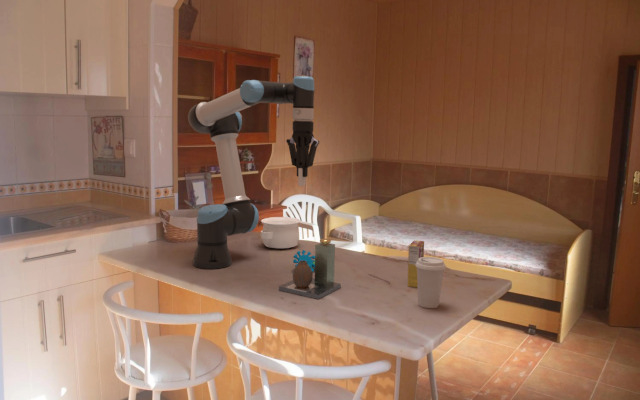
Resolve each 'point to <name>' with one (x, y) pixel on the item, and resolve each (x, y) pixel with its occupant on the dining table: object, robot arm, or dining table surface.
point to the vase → (302, 275)
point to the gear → (305, 259)
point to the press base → (318, 275)
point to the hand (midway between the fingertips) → (301, 185)
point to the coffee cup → (429, 281)
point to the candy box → (414, 261)
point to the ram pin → (325, 242)
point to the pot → (280, 232)
